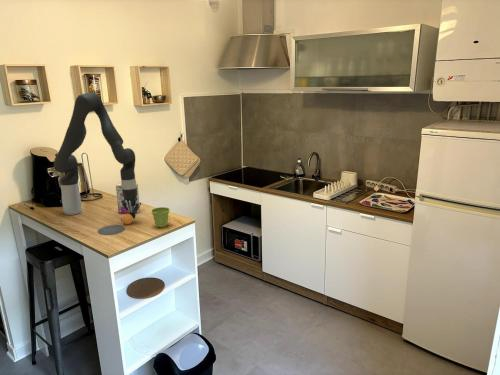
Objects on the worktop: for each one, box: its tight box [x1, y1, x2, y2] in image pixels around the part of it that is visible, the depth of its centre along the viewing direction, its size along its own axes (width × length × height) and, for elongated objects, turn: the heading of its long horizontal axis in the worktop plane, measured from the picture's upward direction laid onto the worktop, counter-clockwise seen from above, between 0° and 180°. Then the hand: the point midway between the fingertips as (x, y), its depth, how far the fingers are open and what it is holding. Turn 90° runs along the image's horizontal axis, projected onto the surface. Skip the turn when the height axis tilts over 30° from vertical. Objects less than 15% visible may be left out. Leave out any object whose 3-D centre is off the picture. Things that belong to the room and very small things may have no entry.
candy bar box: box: [115, 183, 141, 215], centre depth 215 cm, size 11×5×16 cm, turn 84°
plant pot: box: [150, 206, 171, 228], centre depth 195 cm, size 9×9×9 cm
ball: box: [121, 213, 134, 225], centre depth 198 cm, size 6×6×6 cm
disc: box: [97, 224, 126, 236], centre depth 191 cm, size 13×13×1 cm
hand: (132, 218), depth 202 cm, fingers closed
